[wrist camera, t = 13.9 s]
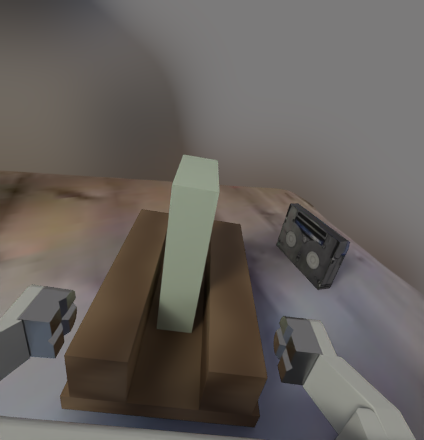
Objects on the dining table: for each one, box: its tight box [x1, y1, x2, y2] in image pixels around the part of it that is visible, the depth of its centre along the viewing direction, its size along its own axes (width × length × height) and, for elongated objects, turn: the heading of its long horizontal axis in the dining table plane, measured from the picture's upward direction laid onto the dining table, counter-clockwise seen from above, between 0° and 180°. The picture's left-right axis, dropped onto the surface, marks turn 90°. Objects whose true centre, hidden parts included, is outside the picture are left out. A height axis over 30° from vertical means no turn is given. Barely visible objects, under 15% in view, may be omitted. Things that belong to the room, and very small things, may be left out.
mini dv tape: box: [277, 204, 350, 290], centre depth 31 cm, size 8×2×6 cm, turn 20°
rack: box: [60, 209, 267, 427], centre depth 22 cm, size 11×16×5 cm
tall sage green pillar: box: [157, 155, 219, 333], centre depth 20 cm, size 2×6×11 cm, turn 0°
